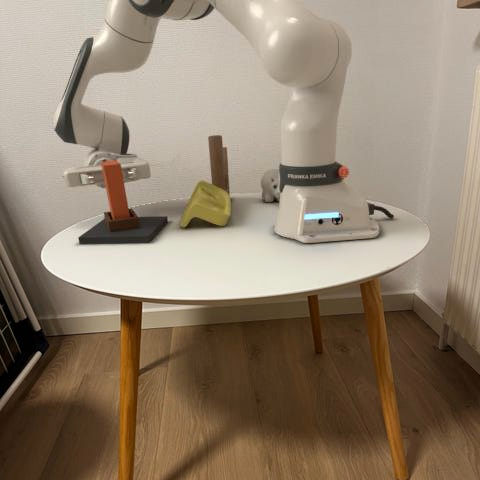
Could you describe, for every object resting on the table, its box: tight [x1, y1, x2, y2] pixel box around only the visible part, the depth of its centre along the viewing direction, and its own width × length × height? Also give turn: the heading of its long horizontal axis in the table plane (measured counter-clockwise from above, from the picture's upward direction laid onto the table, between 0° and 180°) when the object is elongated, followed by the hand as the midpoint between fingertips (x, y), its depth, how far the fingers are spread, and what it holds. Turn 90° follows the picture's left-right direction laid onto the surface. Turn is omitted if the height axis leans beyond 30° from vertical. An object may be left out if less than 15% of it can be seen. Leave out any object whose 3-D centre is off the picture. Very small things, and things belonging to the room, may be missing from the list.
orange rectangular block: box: [101, 160, 130, 220], centre depth 98 cm, size 6×4×14 cm, turn 22°
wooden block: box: [207, 134, 231, 196], centre depth 117 cm, size 4×11×18 cm, turn 175°
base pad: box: [77, 207, 169, 245], centre depth 100 cm, size 16×16×4 cm
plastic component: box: [179, 180, 232, 228], centre depth 108 cm, size 20×7×10 cm
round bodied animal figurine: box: [260, 168, 280, 203], centre depth 117 cm, size 7×12×8 cm, turn 5°
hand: (111, 178), depth 99 cm, fingers open, 8 cm apart
